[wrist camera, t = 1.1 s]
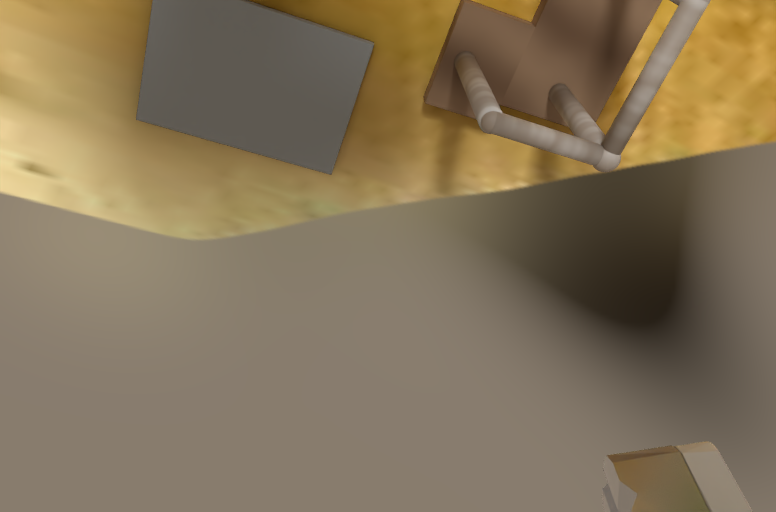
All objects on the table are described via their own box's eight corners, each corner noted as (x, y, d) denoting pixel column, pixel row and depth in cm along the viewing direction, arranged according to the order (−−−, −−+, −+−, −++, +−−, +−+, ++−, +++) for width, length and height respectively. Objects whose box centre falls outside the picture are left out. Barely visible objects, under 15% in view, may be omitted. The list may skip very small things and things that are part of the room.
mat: (158, -30, 41) (156, -28, 40) (373, 42, 44) (374, 45, 43) (138, 116, 46) (136, 119, 45) (331, 171, 49) (331, 174, 48)
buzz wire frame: (510, -130, 39) (566, -109, 29) (684, -59, 41) (790, -16, 31) (423, 96, 46) (443, 176, 36) (574, 144, 49) (632, 231, 39)
